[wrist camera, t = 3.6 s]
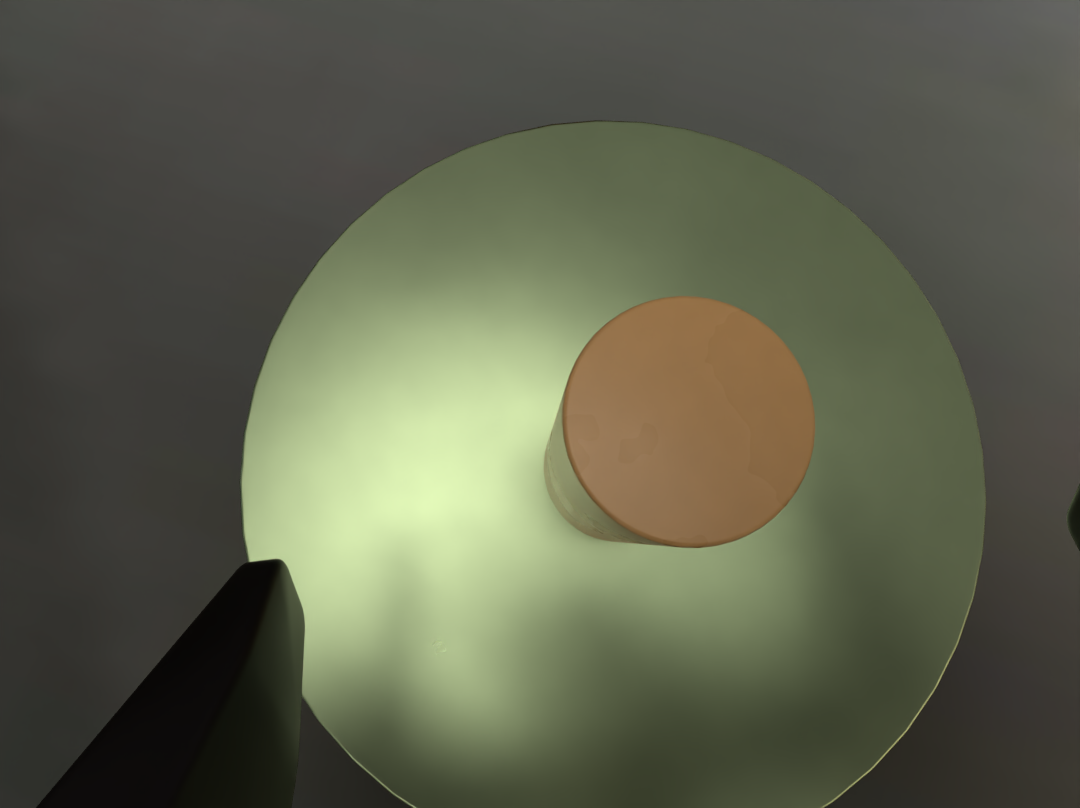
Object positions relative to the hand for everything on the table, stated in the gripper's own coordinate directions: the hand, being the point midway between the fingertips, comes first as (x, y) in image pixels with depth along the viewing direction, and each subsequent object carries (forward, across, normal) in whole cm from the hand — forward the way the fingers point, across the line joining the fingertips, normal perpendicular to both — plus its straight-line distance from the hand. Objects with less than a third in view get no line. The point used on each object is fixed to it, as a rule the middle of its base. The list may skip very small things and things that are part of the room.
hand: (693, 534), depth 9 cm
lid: (+5, 0, +3) cm, 6 cm away
